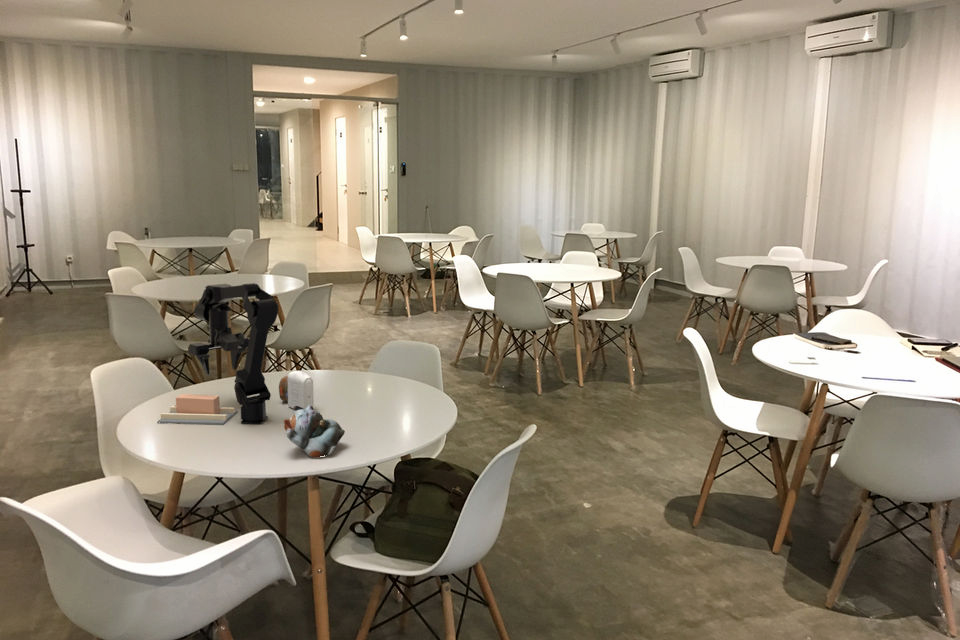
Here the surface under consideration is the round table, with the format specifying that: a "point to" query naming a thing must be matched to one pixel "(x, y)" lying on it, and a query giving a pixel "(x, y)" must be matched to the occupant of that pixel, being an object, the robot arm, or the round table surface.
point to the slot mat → (198, 417)
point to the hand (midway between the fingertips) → (221, 371)
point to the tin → (283, 388)
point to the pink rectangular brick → (197, 404)
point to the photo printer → (300, 390)
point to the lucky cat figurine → (312, 431)
